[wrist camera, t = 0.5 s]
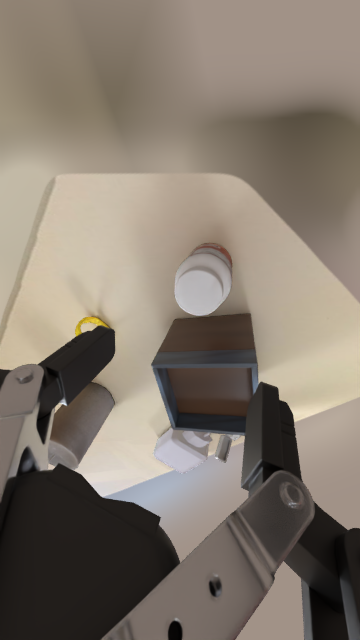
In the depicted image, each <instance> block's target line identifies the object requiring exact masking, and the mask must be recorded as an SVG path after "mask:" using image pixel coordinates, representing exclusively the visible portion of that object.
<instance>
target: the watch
mask: <svg viewBox="0 0 360 640" xmlns="http://www.w3.org/2000/svg"><path fill="white" fill-rule="evenodd" d="M89 322H90V323H94V324H97V325H98V326H99V325H102V326H105V327H108V326H107V325H106V324H105V323H104V322H102V321H101V320H100V319H99V318H95V317H85V318H83V319H82V320H81V321H80V322H79V323H78V325H77V326H76V330H75V334H76V336H78V335H79V334H82V332H81V329H80V327H81V325H82V324H83V323H89ZM108 328H109V327H108Z"/></svg>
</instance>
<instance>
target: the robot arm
mask: <svg viewBox="0 0 360 640" xmlns="http://www.w3.org/2000/svg"><path fill="white" fill-rule="evenodd" d="M114 354H115V331H114V330H113V329H111V328H108V327H105V326H102V325H99V326H98V327H96V328H95V329H94V330H92V331H87V332H84V333H82V334H79V335H78V336H76V337H75V338H74V339H72V340H71V341H69V342H68V343H67V344H65V346H63V347H61V348H60V349H58V350H57V351H56V352H54V353H53V354H52V355H50V356H49V357H47V358H46V359H45V360H43V361H42V362H41V363H39V364H38V365H36V364H27V365H22V366H20V367H17V368H15V369H14V370H2V369H0V640H235V639H236V638H237V636H238V635H239V633H240V632H241V630H242V629H243V627H244V626H245V624H246V623H247V622H248V620H249V619H250V617H251V616H252V614H253V613H254V612H255V610H256V608H257V607H258V606H259V604H260V603H261V601H262V600H263V599H264V597H265V596H266V594H267V593H268V591H269V589H270V588H271V586H272V584H273V582H274V579H275V577H274V575H275V573H276V571H277V569H278V568H279V566H280V565H281V563H282V562H283V561H284V562H285V563H286V564H287V565H288V566H289V567H290V568H291V569H292V570H293V571H294V572H295V573H296V574H297V575H298V576H299V577H301V585H302V601H303V603H302V604H303V621H304V640H360V529H359V528H352V529H350V530H347V529H346V528H344V527H343V526H342V525H341V524H339V523H338V522H337V521H336V520H334V519H333V518H332V517H331V516H329V515H328V514H327V513H326V512H324V511H323V510H322V509H321V508H320V507H319V506H318V505H317V504H316V503H315V502H314V501H313V499H312V496H311V494H310V492H309V490H308V489H307V487H306V486H305V485H304V483H303V481H302V479H301V472H300V464H299V456H298V449H297V441H296V437H295V435H296V434H295V428H294V419H293V413H292V412H291V410H290V408H289V406H288V404H287V403H286V402H283V401H281V400H279V391H278V388H277V387H275V386H272V385H269V384H267V383H264V382H260V383H259V385H258V387H257V389H256V391H255V393H254V395H253V397H252V399H251V401H250V403H249V406H248V410H247V418H246V430H245V442H244V455H243V467H242V479H241V488H243V489H245V490H248V491H249V497H248V499H247V500H246V501H245V502H244V503H243V504H242V505H241V506H240V507H239V508H237V510H235V511H234V512H233V513H231V514H230V515H229V516H228V517H227V518H226V519H225V520H224V521H223V522H222V523H221V524H220V525H219V526H218V527H217V528H216V529H215V530H214V531H213V532H212V533H211V534H210V535H209V536H207V537H206V538H205V539H204V541H202V542H201V543H200V544H199V546H197V547H196V548H195V549H194V550H193V551H192V552H191V553H190V554H189V555H188V556H187V557H186V558H185V559H184V560H183V561H182V562H181V563H180V561H179V558H178V555H177V553H176V550H175V548H174V546H173V544H172V542H171V540H170V538H169V537H168V536H167V534H166V533H165V531H164V530H163V529H162V528H161V527H160V526H159V522H160V518H161V517H159V516H157V515H155V514H153V513H152V512H150V511H148V510H146V509H144V508H142V507H141V506H139V505H137V504H135V503H132V502H126V501H119V500H113V499H106V498H102V497H101V496H100V495H99V494H98V493H97V492H96V491H95V490H94V488H93V487H92V486H91V485H90V484H89V483H88V482H87V480H86V479H85V478H84V477H83V476H82V475H81V474H79V473H77V472H75V471H73V470H71V469H70V468H68V467H66V466H64V465H62V464H60V463H58V464H57V466H56V467H55V468H54V469H53V470H48V446H49V441H50V435H51V430H52V424H53V419H54V413H55V406H56V405H57V404H58V403H59V402H60V403H62V404H64V405H66V406H68V405H69V404H70V403H71V402H72V401H73V400H74V399H75V398H76V397H77V396H78V395H79V394H80V393H81V391H82V390H83V389H84V388H85V387H86V386H87V385H88V384H89V383H90V382H91V381H92V380H93V379H94V378H95V377H96V376H97V375H98V374H99V373H100V372H101V371H102V369H103V368H104V367H105V366H106V365H107V364H108V363H109V362H110V361H111V360H112V358H113V356H114Z"/></svg>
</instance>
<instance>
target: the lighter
mask: <svg viewBox="0 0 360 640" xmlns="http://www.w3.org/2000/svg"><path fill="white" fill-rule="evenodd" d="M240 437H241V435H230V434H225V435H221V437H220V440H219V443H218V447H217V450H216V453H215V458H216V459H218V460H219V461H221V462H224V463H226V461H227V457H228V454H229V450H230V446H231V442H232V440H234V441H235V440H237V439H238V438H240Z"/></svg>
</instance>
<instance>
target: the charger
mask: <svg viewBox="0 0 360 640" xmlns="http://www.w3.org/2000/svg"><path fill="white" fill-rule="evenodd" d="M209 434H210V433H206V432H194V431H183V430H173V429H172V427H171V428H170V429H169V430H168V431H167V432H166V433H164V434H163V435H162V436H161V437H160V438H159V439H158V440H157V443H156V446H155V449H154V452H153V454H154V456H155V458H156V459H158V460H159V461H161V462H163V463H165V464H166V465H168V466H170V467H171V468H173V469H175V470H177V471H178V472H180V473H186V472H188V471H189V470H191V469H192V468H194V467H196V466H197V465H199V464H201V463H202V462H204V461H206V460H207V456H208V447H209V444H208V443H209V442H211V441H212V439H211V437H210V435H209Z"/></svg>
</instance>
